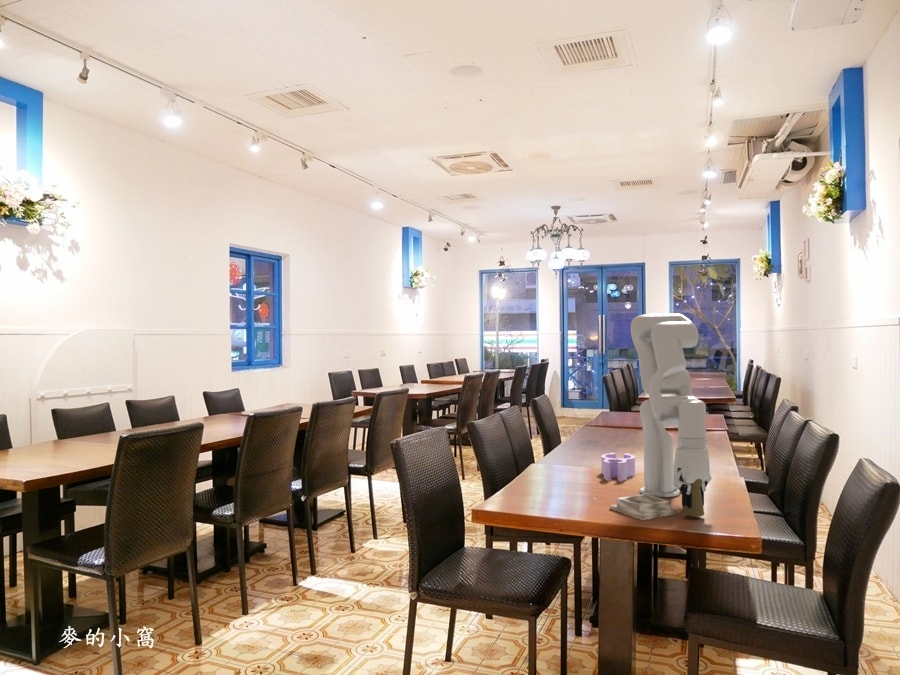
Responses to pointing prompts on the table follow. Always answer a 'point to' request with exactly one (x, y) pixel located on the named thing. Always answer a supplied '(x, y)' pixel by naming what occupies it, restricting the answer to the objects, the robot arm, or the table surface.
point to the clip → (618, 466)
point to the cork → (695, 500)
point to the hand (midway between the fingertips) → (692, 505)
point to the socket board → (644, 507)
